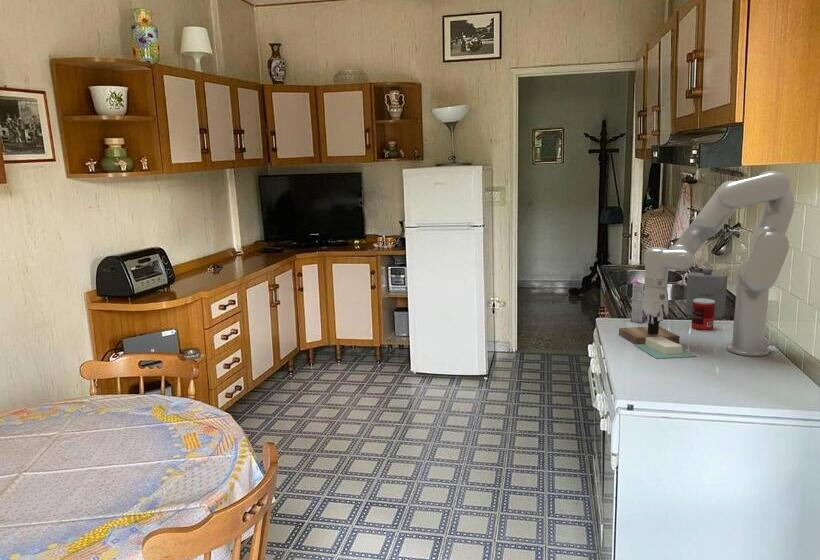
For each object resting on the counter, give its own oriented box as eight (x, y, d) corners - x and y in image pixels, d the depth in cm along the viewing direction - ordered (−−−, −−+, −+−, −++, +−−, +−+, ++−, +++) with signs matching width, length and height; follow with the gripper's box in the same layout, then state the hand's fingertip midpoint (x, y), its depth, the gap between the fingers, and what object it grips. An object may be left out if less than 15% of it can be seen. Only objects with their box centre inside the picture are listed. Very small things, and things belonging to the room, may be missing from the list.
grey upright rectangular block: (685, 316, 262) (688, 268, 259) (684, 313, 268) (687, 266, 264) (725, 318, 257) (729, 270, 254) (723, 315, 263) (727, 268, 259)
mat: (671, 343, 224) (671, 342, 224) (696, 356, 209) (696, 355, 209) (633, 345, 223) (633, 344, 223) (656, 358, 207) (656, 358, 207)
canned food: (713, 327, 245) (715, 299, 243) (712, 331, 238) (714, 303, 236) (692, 324, 249) (693, 297, 247) (690, 329, 242) (692, 301, 240)
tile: (660, 343, 224) (661, 336, 223) (681, 353, 212) (682, 345, 212) (645, 344, 222) (645, 337, 222) (665, 354, 211) (666, 347, 210)
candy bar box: (635, 316, 264) (637, 277, 261) (648, 317, 262) (650, 278, 259) (630, 321, 255) (632, 281, 252) (643, 323, 252) (645, 282, 249)
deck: (659, 332, 238) (659, 326, 238) (679, 342, 225) (679, 336, 224) (618, 334, 237) (619, 328, 236) (636, 345, 223) (636, 338, 222)
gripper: (677, 286, 213) (674, 339, 216) (655, 278, 228) (652, 328, 231) (656, 287, 212) (653, 340, 215) (635, 279, 227) (633, 329, 230)
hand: (652, 334), depth 223 cm, fingers closed
